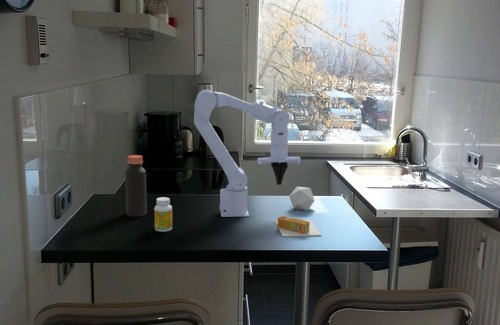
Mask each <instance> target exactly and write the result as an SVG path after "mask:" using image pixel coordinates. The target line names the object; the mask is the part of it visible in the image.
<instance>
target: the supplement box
mask: <svg viewBox="0 0 500 325" xmlns="http://www.w3.org/2000/svg"><path fill="white" fill-rule="evenodd" d="M277 221H278V226H277V228H278V229H279V228H282V229H286V230H290V231H294V232H298V233H302V234H305V233H307V232H309V225H310V222H309V221H305V220H304V219H300V218H294V217H290V216H286V215H282V216H279V217H277Z"/></svg>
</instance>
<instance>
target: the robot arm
mask: <svg viewBox="0 0 500 325" xmlns="http://www.w3.org/2000/svg"><path fill="white" fill-rule="evenodd" d="M195 98H196V99H195V100H194V108H193V109H194V111H193V112H194V113H193V123H194V125H195V127H196V130H198V132H199V134H200V135H201V137H202V138H203V140H204V142H205V143H206V144H207V146H208V148H209V149H210V151H211V153H212V154H213V156H214V157H215V159H216V161H217V162H218V164H219V165H220V166H221V168H222V170H223V171H224V173H225V175H226V179H227V181H228V184H227V185H226V187H225V188H221V189H220V190H219V192H220V195H219V196H220V197H219V201H220V202H219V206H218V207H219V211H220V212H219V213H220V217H221V218H222V217H223V218H226V217H227V218H228V217H229V218H230V217H234V218H235V217H239V218H240V217H249V216H250V214H249V211H248V186H247V185H248V183H249V182H248V177H247V175H246V173H245V171H244V169H243V168H242V167H240V166H238V164H236V161H235V160H234V158H233V157H232V156H231V155H230V152H229V151H228V150H227V147H226V146H225V145H224V143H223V141H222V140H221V138H220V137H219V135H218V134H217V132H216V131H215V129H214V127H213V125H212V124H211V122H210V118H211V114H212V112H213V110H214V108H216V106H217V108H220V107H225V106H226V107H230V108H232V109H237V110H240V111H242V112H243V111H244V112H247V113H248V114H249V117H250V119H253V120H257V121H259V122H262V123H266V124H270V125H271V126H270V127H271V128H270V129H271V131H270V156H267V157H257V165H268V164H269V165H270V166H271V169H272V170H273V173H274V176H275V180H276V185H277V186H278V185H281V186H282V183H283V179H284V175H285V173H286V171H287V169H288V167H289V165H288V164H301V163H302V162H301V157H300V156H288V154H289V153H288V151H289V150H288V145H289V144H288V143H289V141H288V140H289V138H288V137H289V132H288V126H289V124H290V122H291V118H290V117H289V114H288V113H287V112H286V111H285V110H283V109H280V108H278V107H277V106H275V105H274V106H271V105H268V104H265V103H264V101H261V100H259V101H254V102H252V103H250V102H248V101H245V100H242V99H241V98H238V97H235V96H233V95H230V94H227V93H226V92H225V93H224V92H220V91H219V92H218V91H211V90H210V89H202V90H201V91H199V92H198V93H197V95H196V97H195Z"/></svg>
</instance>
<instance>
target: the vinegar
mask: <svg viewBox="0 0 500 325" xmlns="http://www.w3.org/2000/svg"><path fill="white" fill-rule="evenodd" d="M143 159H144V158H143V155H139V154H134V155H133V154H131V155H128V156H127V165H128V167H127V168H126V169H125V171H124V173H125V174H124V175H125V176H124V178H125V179H124V180H125V207H126V208H125V209H126V210H125V211H126V216H128V217H131V218H132V217H133V218H138V217H144V216H146V215H147V213H148V212H147V211H148V209H147V208H148V206H147V203H148V202H147V173H146V172H147V170H146V169H145V168H144V167H143V162H144V160H143Z"/></svg>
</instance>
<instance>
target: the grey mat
mask: <svg viewBox="0 0 500 325" xmlns="http://www.w3.org/2000/svg"><path fill="white" fill-rule="evenodd" d="M304 221H309V222H310V225H309V232H307V233H305V234H302V233H298V232H294V231H290V230H286V229H282V228H278V230H279V232H280V234H281V236H282V237H283V238H284V237H287V238H288V237H322V235H323V234H322V233H321V232H320V230H319V229H318V228H317V226H316V225H315V223H314V222H313V221H312V220H308V219H307V220H304ZM275 224H276V226H277V227H278V220H275Z"/></svg>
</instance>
